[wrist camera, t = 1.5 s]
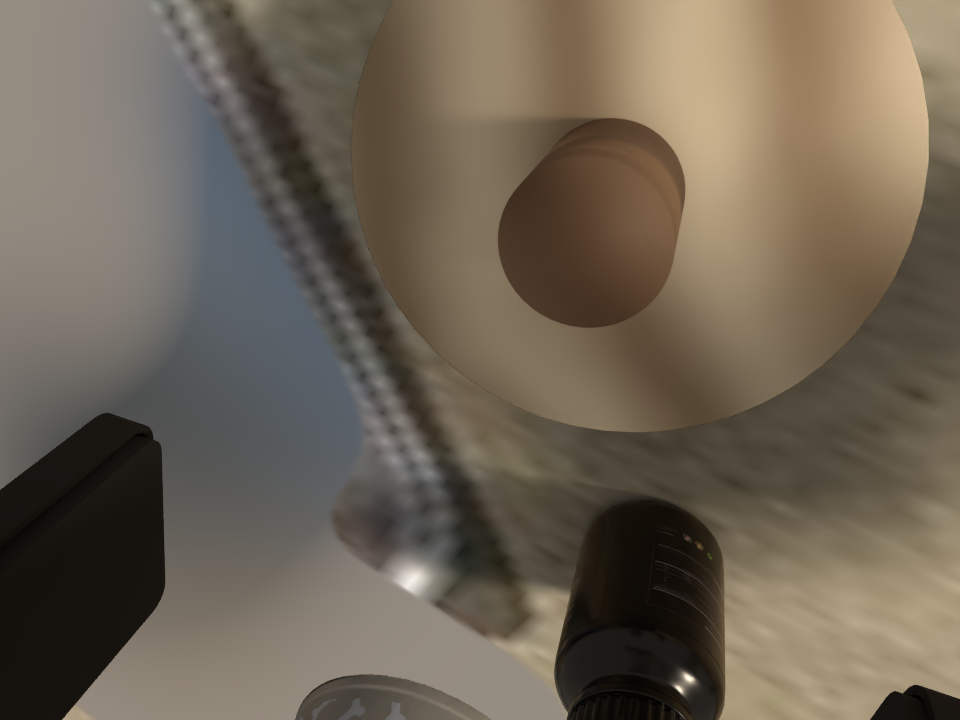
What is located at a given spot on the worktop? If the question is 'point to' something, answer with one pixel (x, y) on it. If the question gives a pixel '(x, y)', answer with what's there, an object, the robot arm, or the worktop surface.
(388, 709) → the dog bowl
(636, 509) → the supplement bottle
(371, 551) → the worktop surface
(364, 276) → the worktop surface
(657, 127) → the lid
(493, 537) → the worktop surface
